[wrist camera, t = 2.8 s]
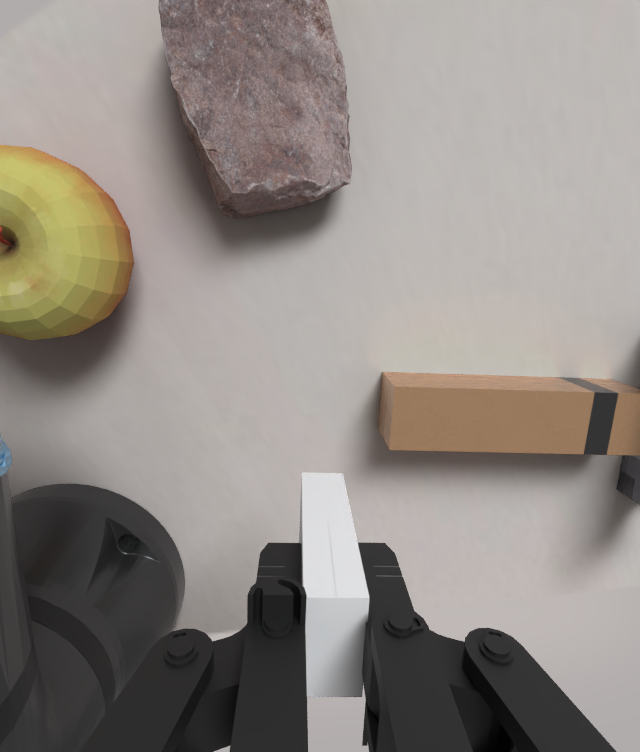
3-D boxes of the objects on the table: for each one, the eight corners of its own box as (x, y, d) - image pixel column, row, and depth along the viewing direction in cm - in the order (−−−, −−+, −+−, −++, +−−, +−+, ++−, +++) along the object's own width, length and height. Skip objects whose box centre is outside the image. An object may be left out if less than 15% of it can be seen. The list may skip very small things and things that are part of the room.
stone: (364, 192, 29) (376, 177, 24) (225, 232, 29) (211, 224, 24) (312, -23, 26) (315, -86, 21) (160, 22, 26) (131, -30, 22)
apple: (154, 179, 28) (99, 143, 20) (146, 338, 30) (93, 363, 22) (-16, 153, 27) (-144, 106, 19) (-13, 319, 29) (-126, 337, 21)
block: (378, 428, 32) (389, 450, 28) (382, 371, 31) (394, 386, 27) (600, 433, 33) (641, 455, 29) (610, 379, 32) (654, 394, 28)
